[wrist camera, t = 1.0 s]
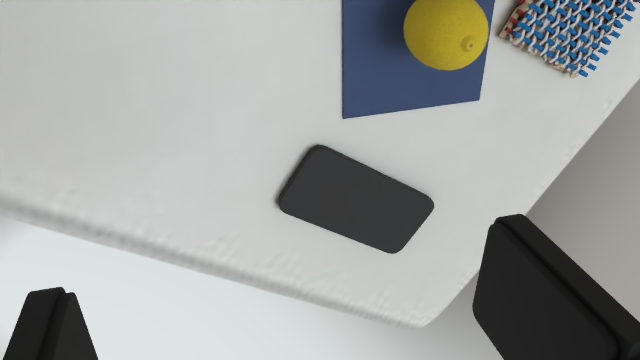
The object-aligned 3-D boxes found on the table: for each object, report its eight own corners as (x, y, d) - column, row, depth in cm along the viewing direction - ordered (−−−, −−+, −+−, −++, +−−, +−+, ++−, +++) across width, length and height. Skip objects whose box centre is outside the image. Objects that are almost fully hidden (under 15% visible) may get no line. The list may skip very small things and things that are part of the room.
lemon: (391, -19, 37) (439, 3, 30) (457, -21, 38) (517, 0, 32) (385, 53, 40) (428, 88, 33) (447, 49, 41) (499, 81, 34)
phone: (317, 143, 42) (439, 202, 49) (315, 139, 42) (435, 198, 49) (274, 209, 44) (396, 257, 51) (272, 204, 45) (393, 252, 52)
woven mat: (568, -91, 38) (587, -90, 36) (646, -29, 42) (666, -25, 41) (491, 33, 42) (505, 40, 40) (570, 78, 46) (585, 85, 45)
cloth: (342, -128, 33) (343, -128, 32) (514, -133, 35) (516, -133, 35) (342, 118, 42) (343, 118, 42) (478, 99, 45) (479, 100, 45)
